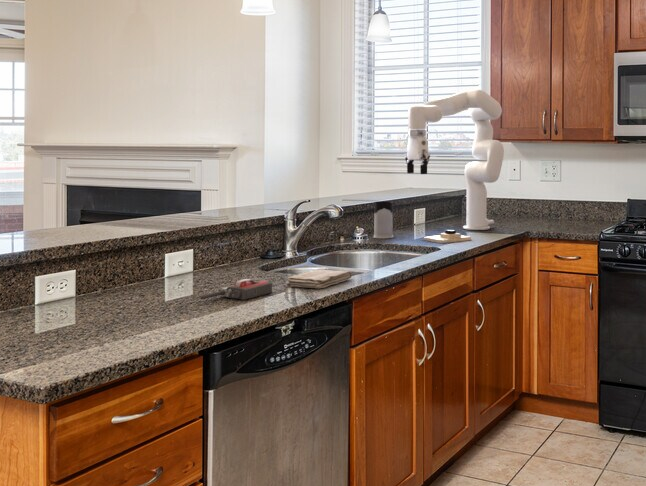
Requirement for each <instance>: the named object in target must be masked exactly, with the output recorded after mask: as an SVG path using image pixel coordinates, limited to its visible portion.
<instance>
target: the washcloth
mask: <svg viewBox="0 0 646 486" xmlns="http://www.w3.org/2000/svg"><path fill="white" fill-rule="evenodd" d="M352 277H353V272H352V271H349V270H343V269H342V270H331V269H315V270H310V271H306V272H302V273H299V274H295V275H292V276H289V277H287V278H286V281H287V283H286V286H287V287H292V288H310V289H316V290H317V289H318V290H319V289H324V288H327V287H329V286H332V285H336V284H340V283H342V282H346V281H348V280H351V279H352Z"/></svg>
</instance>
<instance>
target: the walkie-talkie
mask: <svg viewBox="0 0 646 486" xmlns="http://www.w3.org/2000/svg"><path fill="white" fill-rule="evenodd" d="M272 293H273V282H272V281H271V280H265V279H260V278H242V279H238V280H236V281H235V282H234V285H230V286H226V287H221V288H220V290H219V291H215V292H210V293H206V294H201V296H200V297H199V298H200V299H201V300H205V299H210V298H214V297H218V296H221V297H222V296H223V297H226V298H228V299H234V300H240V301H245V300H249V299H253V298H258V297H261V296H265V295H268V294H269V295H270V294H272Z"/></svg>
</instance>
